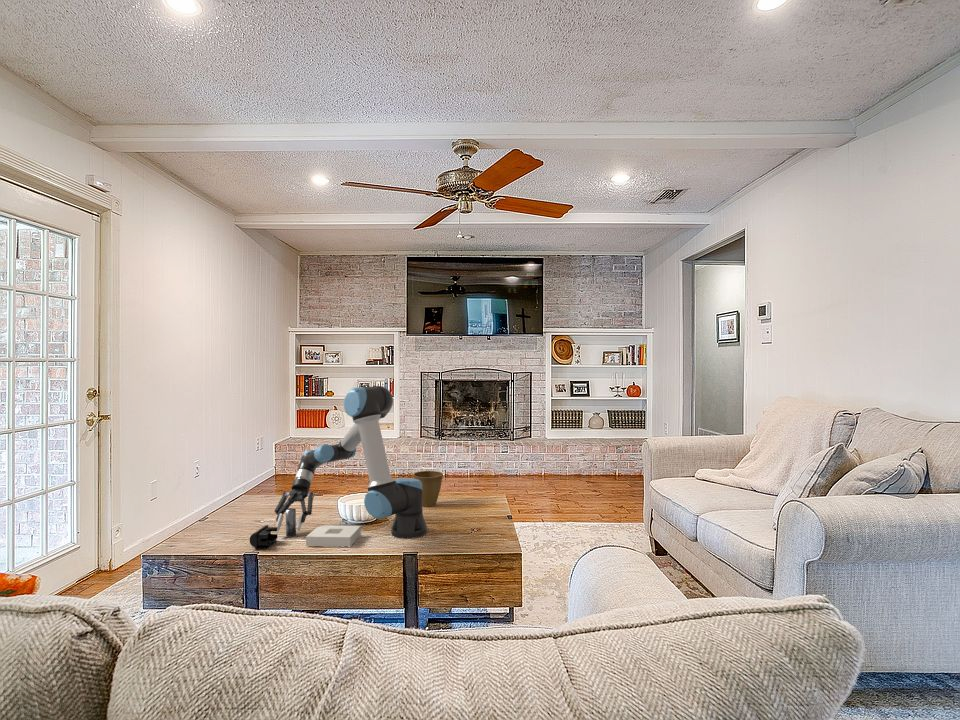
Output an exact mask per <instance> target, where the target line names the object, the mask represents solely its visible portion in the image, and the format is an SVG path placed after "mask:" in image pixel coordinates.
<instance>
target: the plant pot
mask: <svg viewBox="0 0 960 720" xmlns="http://www.w3.org/2000/svg"><path fill="white" fill-rule="evenodd" d="M412 475H413V476H412V477H413V479H418V480H420V481H421V482H422V489H423V490H422V503H423V508H432V507H435V506H436V504H437V502H438V498H439V496H440V492H441V488H442V483H443V475H444V473H443V472H441V471H438V470H437V471H435V470H422V471H417V472H414V473H413V474H412Z"/></svg>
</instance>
